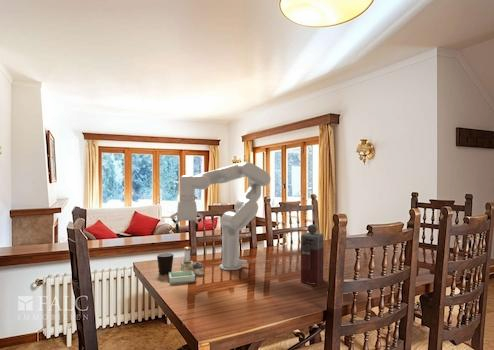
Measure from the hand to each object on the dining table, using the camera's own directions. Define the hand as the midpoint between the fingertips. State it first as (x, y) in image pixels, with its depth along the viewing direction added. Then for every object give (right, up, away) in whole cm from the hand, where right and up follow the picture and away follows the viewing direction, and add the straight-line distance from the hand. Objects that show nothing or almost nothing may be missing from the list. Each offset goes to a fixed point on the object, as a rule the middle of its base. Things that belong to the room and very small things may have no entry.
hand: (186, 231), depth 177 cm
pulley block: (+3, -23, +1) cm, 23 cm away
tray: (-1, -23, -10) cm, 25 cm away
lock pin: (0, -20, 0) cm, 20 cm away
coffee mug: (-11, -23, +2) cm, 26 cm away
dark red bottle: (+64, -23, -12) cm, 69 cm away
